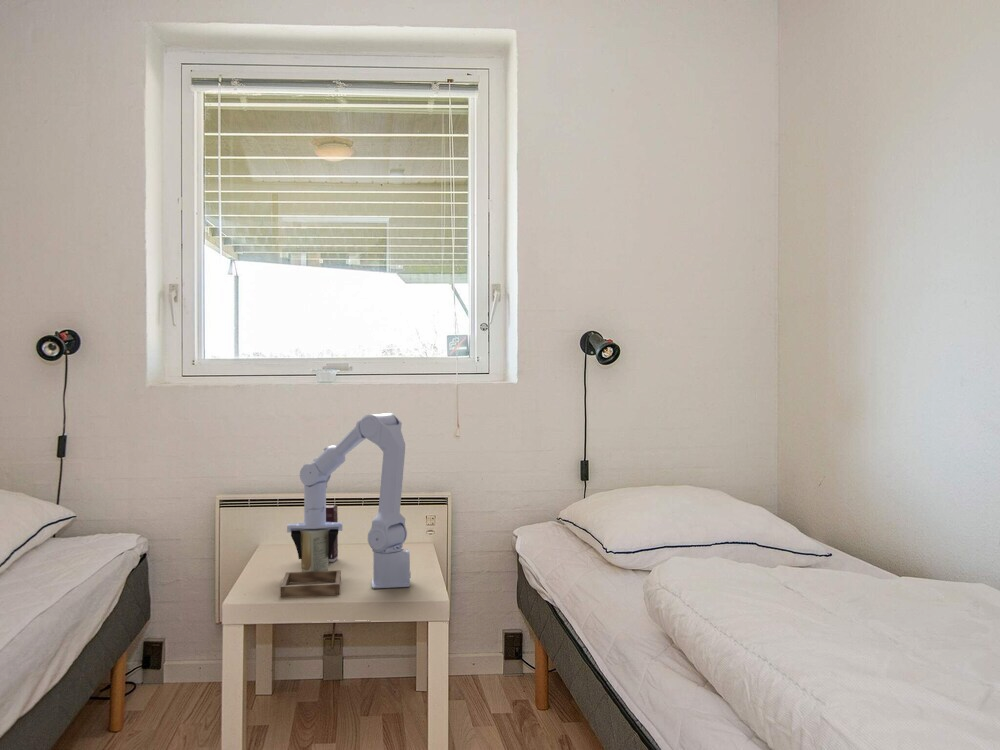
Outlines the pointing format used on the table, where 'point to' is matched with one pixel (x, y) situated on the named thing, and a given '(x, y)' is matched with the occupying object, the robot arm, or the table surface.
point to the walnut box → (311, 588)
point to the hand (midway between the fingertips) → (315, 557)
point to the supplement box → (330, 517)
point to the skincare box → (314, 550)
